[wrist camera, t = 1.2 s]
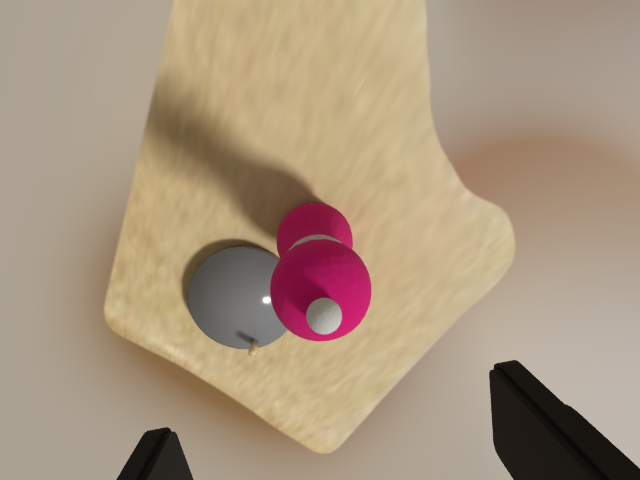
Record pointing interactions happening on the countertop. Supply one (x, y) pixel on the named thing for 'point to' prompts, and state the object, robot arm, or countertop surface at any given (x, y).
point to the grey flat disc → (236, 298)
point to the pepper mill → (318, 275)
